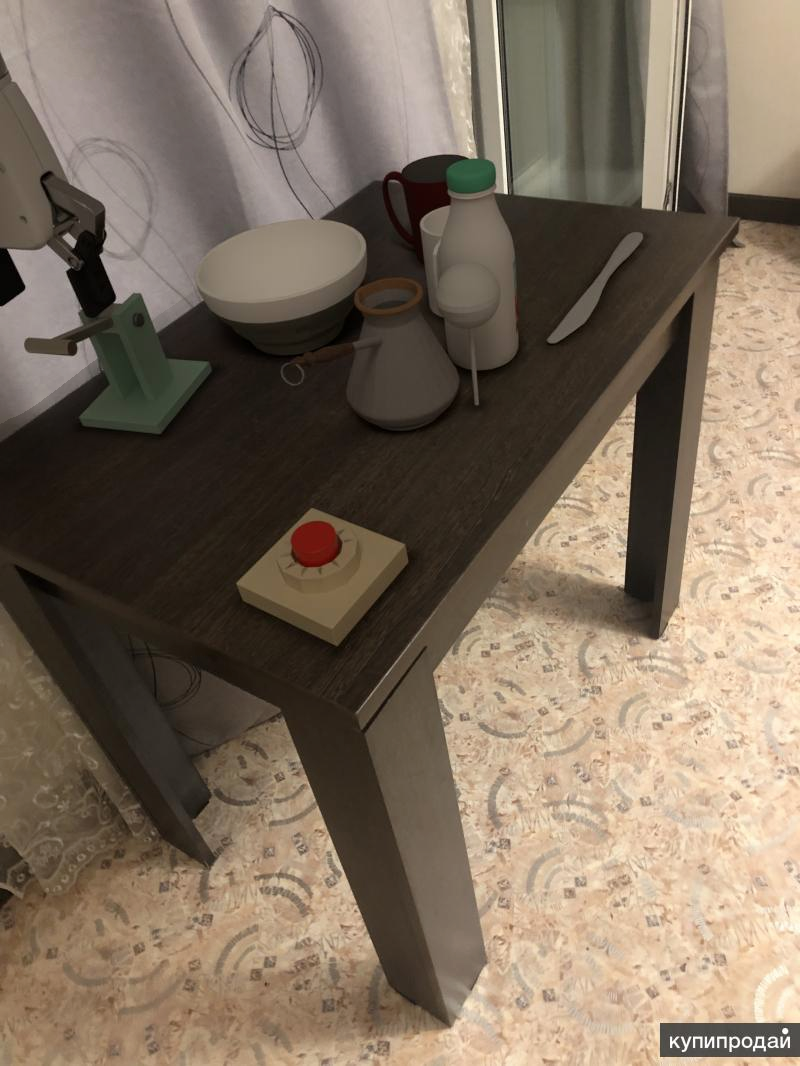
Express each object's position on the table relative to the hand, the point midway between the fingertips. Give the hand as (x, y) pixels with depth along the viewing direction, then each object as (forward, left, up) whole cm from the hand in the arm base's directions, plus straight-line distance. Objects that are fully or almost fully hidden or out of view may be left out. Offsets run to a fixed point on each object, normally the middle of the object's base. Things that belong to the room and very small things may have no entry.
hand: (55, 303), depth 66 cm
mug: (+45, +27, -21) cm, 56 cm away
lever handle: (0, +13, -10) cm, 16 cm away
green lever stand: (+4, +16, -20) cm, 26 cm away
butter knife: (+57, +6, -20) cm, 60 cm away
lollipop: (+34, -6, -21) cm, 40 cm away
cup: (+41, +12, -21) cm, 47 cm away
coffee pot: (+23, -5, -21) cm, 32 cm away
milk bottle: (+39, +2, -21) cm, 44 cm away
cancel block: (+12, -21, -20) cm, 31 cm away
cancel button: (+12, -21, -17) cm, 29 cm away
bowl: (+23, +19, -21) cm, 36 cm away
